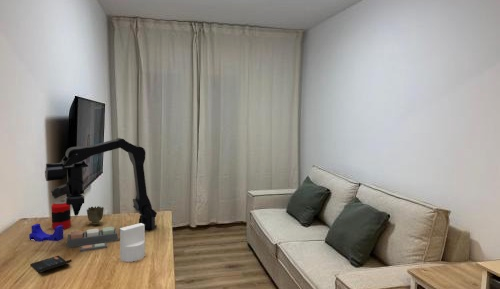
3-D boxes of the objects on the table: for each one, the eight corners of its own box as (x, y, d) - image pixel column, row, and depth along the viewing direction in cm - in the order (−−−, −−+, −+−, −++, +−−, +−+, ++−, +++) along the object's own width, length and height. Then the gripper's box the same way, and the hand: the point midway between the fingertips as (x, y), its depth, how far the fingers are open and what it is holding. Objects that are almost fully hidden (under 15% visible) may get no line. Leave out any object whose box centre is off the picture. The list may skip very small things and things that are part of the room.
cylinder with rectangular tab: (127, 264, 121) (127, 232, 120) (115, 256, 127) (115, 226, 126) (149, 256, 128) (149, 226, 126) (137, 249, 134) (137, 220, 132)
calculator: (58, 257, 125) (58, 249, 125) (71, 267, 118) (71, 259, 117) (30, 266, 118) (29, 258, 118) (42, 277, 111) (42, 269, 110)
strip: (106, 244, 137) (106, 242, 137) (107, 247, 134) (107, 245, 134) (79, 248, 132) (79, 246, 132) (79, 251, 130) (79, 249, 129)
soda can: (73, 224, 159) (72, 199, 157) (66, 230, 151) (66, 204, 150) (56, 224, 158) (55, 200, 156) (49, 230, 150) (48, 204, 149)
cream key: (98, 233, 143) (98, 228, 143) (98, 237, 139) (98, 231, 139) (86, 235, 141) (86, 229, 141) (87, 239, 137) (87, 233, 137)
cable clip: (29, 241, 139) (28, 227, 138) (37, 236, 143) (36, 223, 142) (56, 243, 137) (55, 229, 137) (63, 238, 142) (62, 225, 141)
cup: (99, 227, 156) (99, 210, 155) (84, 226, 156) (83, 210, 155) (106, 221, 163) (106, 206, 162) (91, 221, 163) (91, 205, 162)
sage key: (113, 231, 146) (113, 226, 145) (114, 235, 142) (114, 230, 142) (102, 233, 144) (102, 227, 143) (102, 236, 140) (102, 231, 140)
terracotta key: (82, 235, 140) (82, 230, 140) (82, 239, 136) (82, 234, 136) (71, 237, 138) (70, 231, 138) (70, 241, 134) (70, 235, 134)
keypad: (116, 234, 148) (116, 227, 148) (118, 240, 141) (118, 233, 141) (66, 241, 139) (66, 234, 139) (66, 248, 133) (65, 240, 132)
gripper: (54, 175, 139) (55, 210, 141) (50, 184, 123) (51, 225, 124) (83, 173, 144) (84, 208, 146) (83, 182, 128) (84, 221, 129)
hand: (76, 215), depth 136 cm, fingers closed
